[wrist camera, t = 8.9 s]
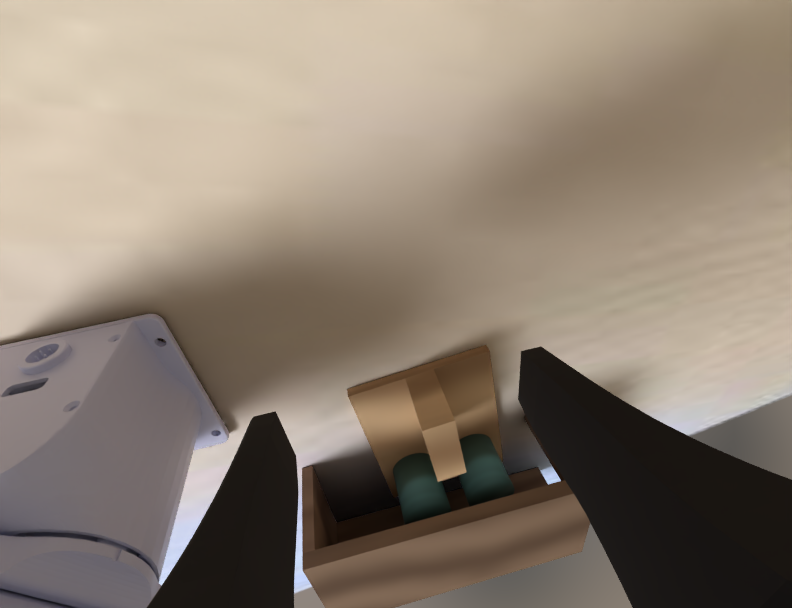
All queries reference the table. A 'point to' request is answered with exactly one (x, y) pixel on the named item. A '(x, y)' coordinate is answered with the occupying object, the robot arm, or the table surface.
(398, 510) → the wooden caddy
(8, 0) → the table surface
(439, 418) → the tray
